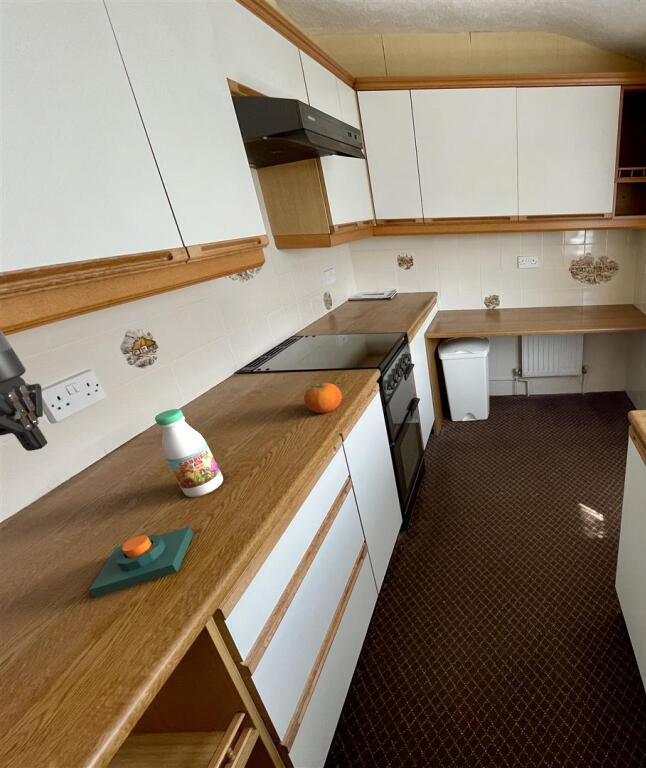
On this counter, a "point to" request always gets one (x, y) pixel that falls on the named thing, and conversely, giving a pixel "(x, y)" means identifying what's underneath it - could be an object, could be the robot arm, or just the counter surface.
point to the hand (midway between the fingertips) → (37, 447)
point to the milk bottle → (188, 455)
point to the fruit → (322, 398)
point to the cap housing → (143, 563)
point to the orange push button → (136, 546)
